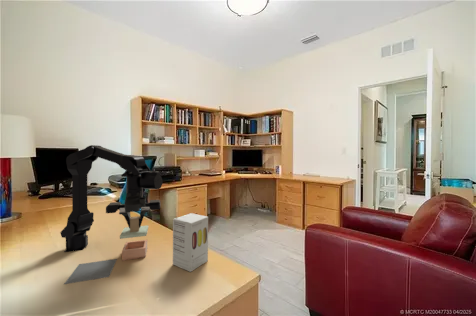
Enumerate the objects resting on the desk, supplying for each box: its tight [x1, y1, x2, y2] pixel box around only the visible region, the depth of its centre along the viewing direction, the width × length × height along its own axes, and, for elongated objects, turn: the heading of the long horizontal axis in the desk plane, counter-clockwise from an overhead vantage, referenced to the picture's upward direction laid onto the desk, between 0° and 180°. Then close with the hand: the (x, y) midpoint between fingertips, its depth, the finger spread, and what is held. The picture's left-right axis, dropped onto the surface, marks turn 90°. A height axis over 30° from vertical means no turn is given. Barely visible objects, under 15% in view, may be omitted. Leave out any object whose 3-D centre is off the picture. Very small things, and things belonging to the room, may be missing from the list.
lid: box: [119, 215, 149, 240], centre depth 83 cm, size 9×9×6 cm
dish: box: [121, 239, 148, 261], centre depth 83 cm, size 8×8×4 cm
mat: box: [63, 258, 118, 285], centre depth 72 cm, size 12×12×1 cm
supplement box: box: [172, 212, 209, 272], centre depth 78 cm, size 10×9×17 cm
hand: (135, 227), depth 83 cm, fingers closed on lid, 3 cm apart
